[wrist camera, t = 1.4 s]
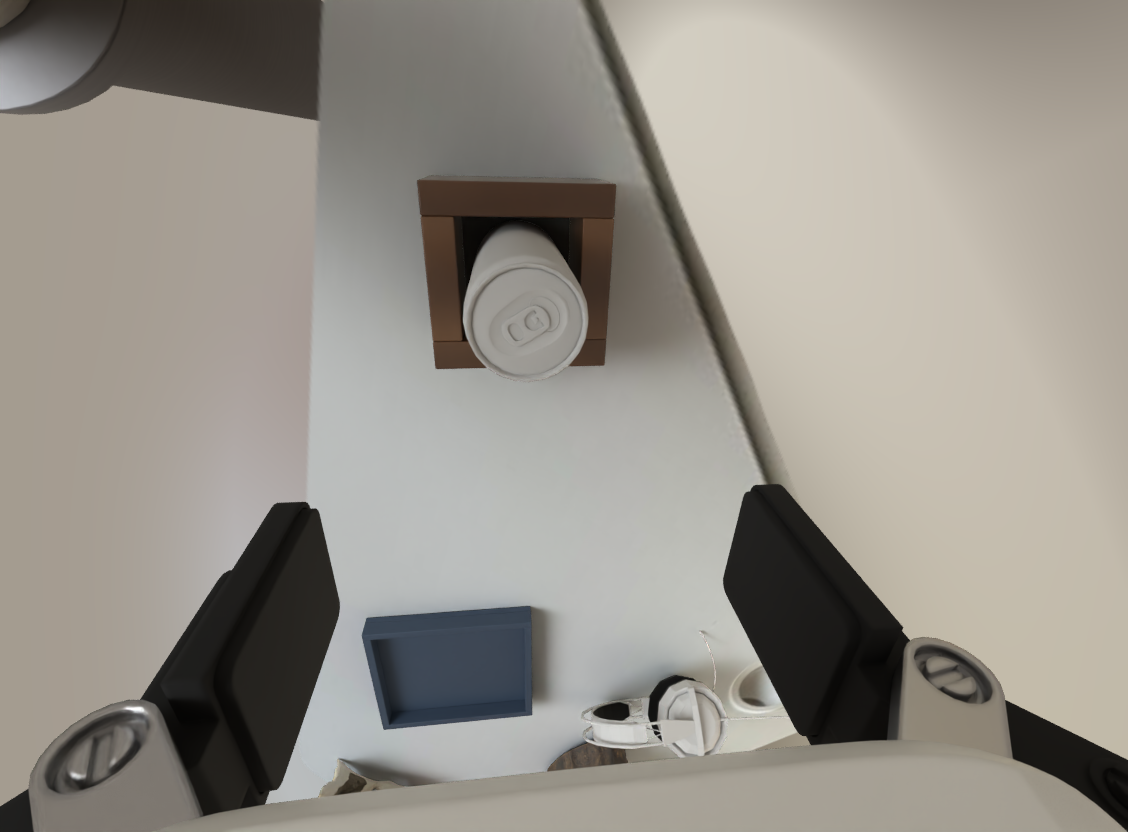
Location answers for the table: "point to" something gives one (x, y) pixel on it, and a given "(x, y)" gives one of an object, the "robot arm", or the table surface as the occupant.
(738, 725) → the table surface
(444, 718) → the tray
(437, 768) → the table surface
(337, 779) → the decorative object
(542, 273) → the beverage can
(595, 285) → the can holder
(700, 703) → the headphones
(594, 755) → the statue
